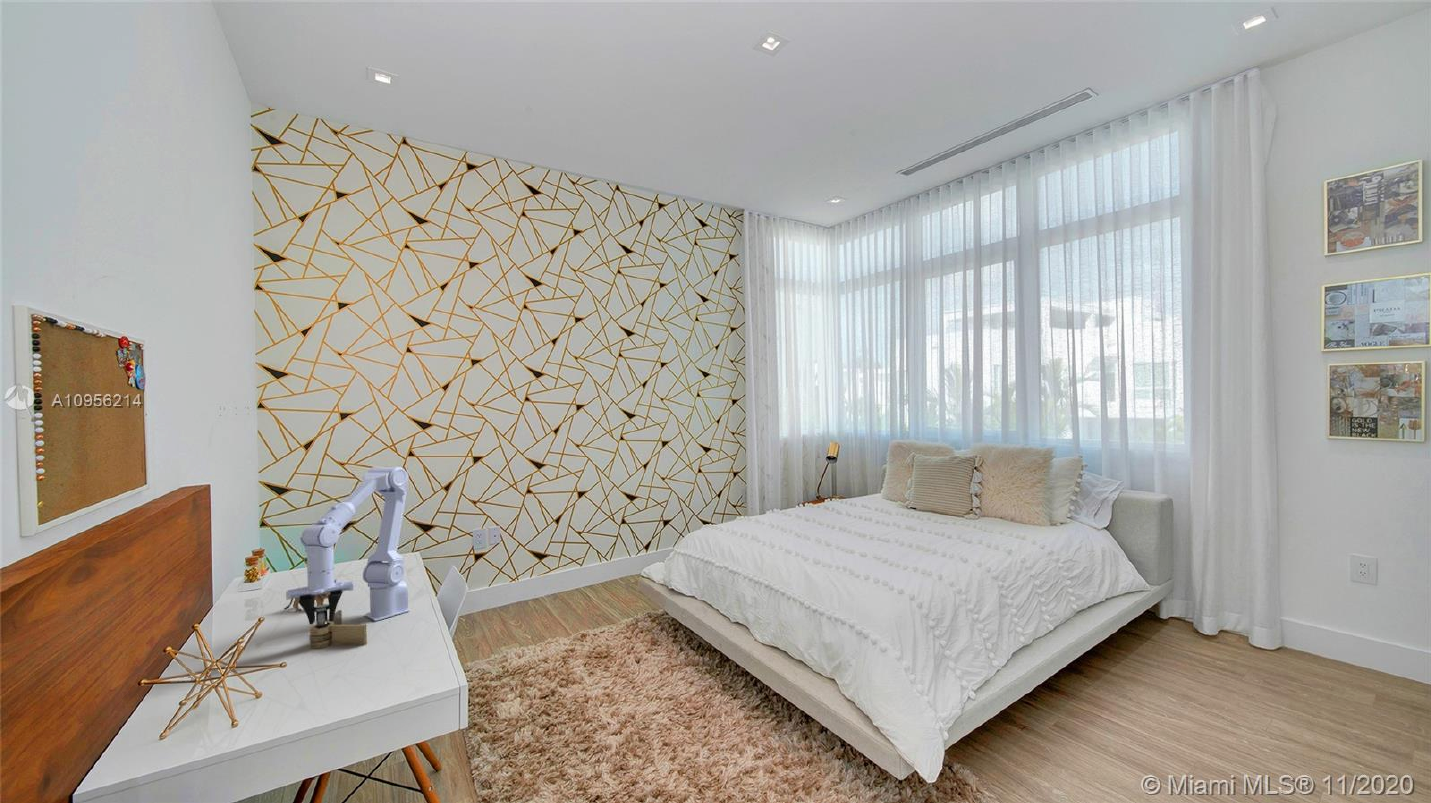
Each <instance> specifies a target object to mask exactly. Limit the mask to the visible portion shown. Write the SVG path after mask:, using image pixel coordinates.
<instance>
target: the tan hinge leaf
mask: <svg viewBox="0 0 1431 803" xmlns="http://www.w3.org/2000/svg"><path fill="white" fill-rule="evenodd" d="M329 632H332V638H329V639H326V640H324V641H316V642H313V641H310V640H309V642H310V643H309V644H310V648H311V649H314V650H315V649H317V650H318V649H322V648H326V647H329V646H366V645H367V644H368V642H367V640H368V639H367V638H368V637H367V635H368V634H367V624H342V625H334V622H333V621H330V622H329V621H328V626H326V627H322V628H317V627H316V623H315V624H312V625H311V626H310V627H309V635H310V634H311V635H322V634H326V633H329Z"/></svg>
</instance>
